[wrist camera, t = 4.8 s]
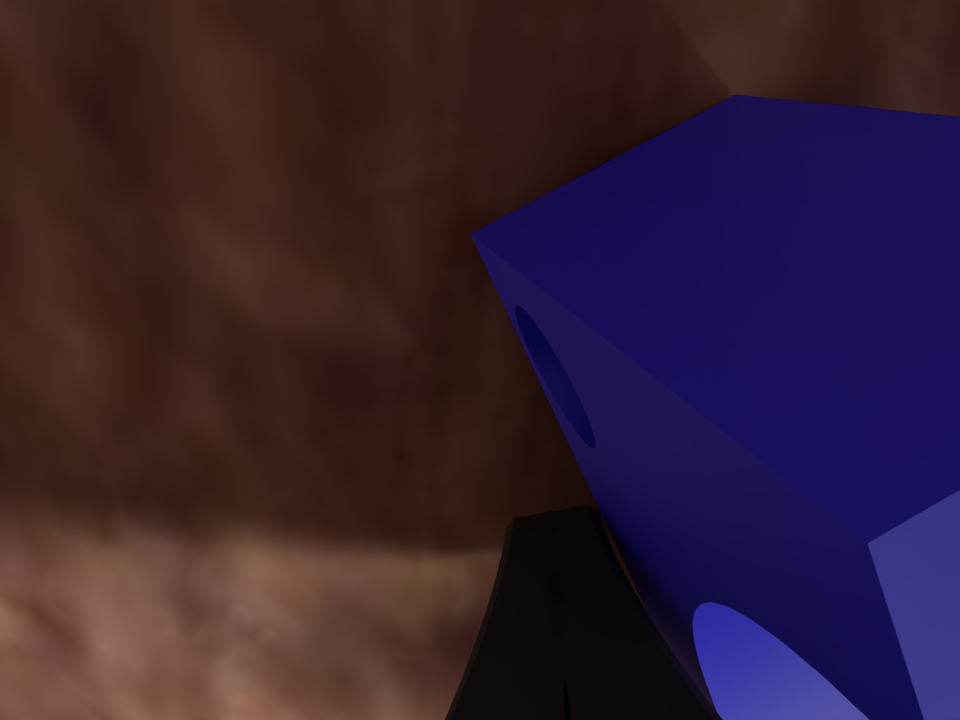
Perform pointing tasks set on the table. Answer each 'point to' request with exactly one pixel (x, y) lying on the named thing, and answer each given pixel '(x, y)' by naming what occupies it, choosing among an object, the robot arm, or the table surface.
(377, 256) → the table surface
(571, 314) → the cable clip
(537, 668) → the robot arm
